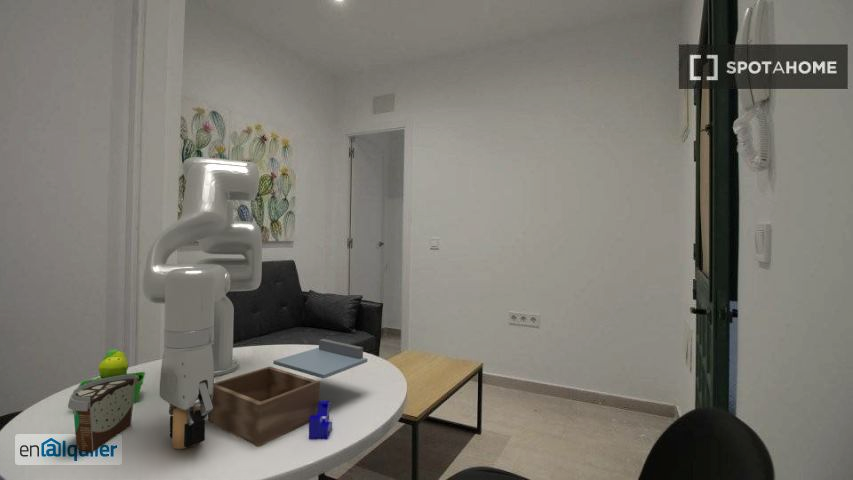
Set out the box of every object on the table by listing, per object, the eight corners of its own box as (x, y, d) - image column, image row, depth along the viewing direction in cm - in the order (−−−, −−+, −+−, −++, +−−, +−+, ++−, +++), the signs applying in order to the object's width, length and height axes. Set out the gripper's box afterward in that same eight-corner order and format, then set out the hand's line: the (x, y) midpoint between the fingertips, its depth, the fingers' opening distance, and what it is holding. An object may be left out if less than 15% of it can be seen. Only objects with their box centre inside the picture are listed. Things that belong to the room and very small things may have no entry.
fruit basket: (73, 416, 77) (74, 361, 77) (82, 401, 85) (84, 351, 85) (142, 404, 83) (143, 353, 84) (145, 391, 91) (146, 344, 91)
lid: (273, 363, 89) (273, 349, 89) (319, 350, 100) (319, 338, 101) (323, 378, 80) (323, 363, 80) (367, 361, 91) (367, 348, 91)
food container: (103, 424, 74) (104, 373, 74) (136, 423, 75) (137, 373, 75) (45, 460, 62) (47, 399, 62) (85, 459, 62) (87, 398, 62)
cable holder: (327, 440, 70) (327, 419, 70) (308, 440, 70) (309, 418, 70) (336, 420, 78) (336, 401, 78) (319, 420, 78) (319, 400, 78)
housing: (207, 421, 76) (208, 384, 76) (268, 398, 88) (269, 366, 88) (258, 447, 67) (259, 405, 67) (319, 417, 79) (319, 381, 79)
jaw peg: (167, 443, 66) (168, 409, 66) (193, 433, 70) (194, 400, 70) (179, 451, 64) (180, 416, 64) (206, 440, 68) (207, 406, 68)
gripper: (144, 334, 68) (141, 434, 68) (191, 350, 59) (188, 466, 59) (188, 326, 75) (186, 418, 75) (236, 340, 66) (234, 444, 66)
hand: (187, 438), depth 67 cm, fingers closed on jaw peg, 4 cm apart
